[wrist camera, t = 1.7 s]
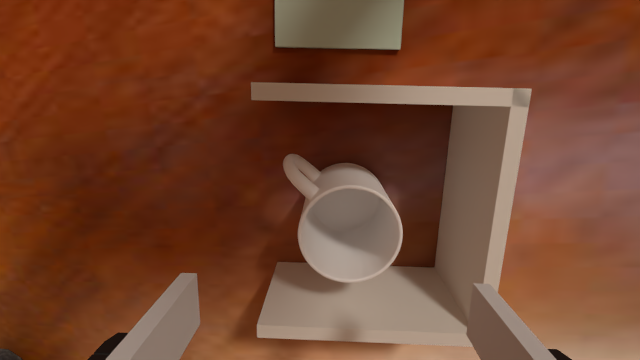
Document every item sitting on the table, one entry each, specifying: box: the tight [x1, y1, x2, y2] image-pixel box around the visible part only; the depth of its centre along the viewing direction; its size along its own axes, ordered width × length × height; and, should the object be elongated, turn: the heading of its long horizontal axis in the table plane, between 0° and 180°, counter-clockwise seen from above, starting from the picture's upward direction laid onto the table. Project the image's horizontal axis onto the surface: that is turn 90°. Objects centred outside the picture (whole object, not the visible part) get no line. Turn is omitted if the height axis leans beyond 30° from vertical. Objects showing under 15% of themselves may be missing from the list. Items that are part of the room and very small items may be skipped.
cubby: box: [251, 82, 532, 347], centre depth 30 cm, size 20×19×11 cm
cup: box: [283, 154, 403, 283], centre depth 31 cm, size 8×12×10 cm
